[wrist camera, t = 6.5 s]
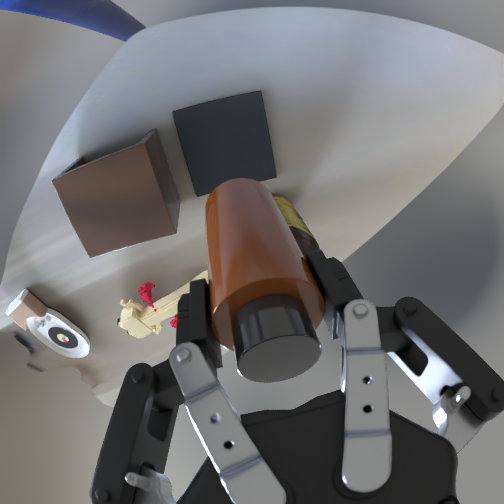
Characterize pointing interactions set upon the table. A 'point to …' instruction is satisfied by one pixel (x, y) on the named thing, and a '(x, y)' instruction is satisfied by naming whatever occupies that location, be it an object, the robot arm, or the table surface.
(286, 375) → the spice bottle
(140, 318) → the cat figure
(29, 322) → the record player
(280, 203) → the sauce bottle
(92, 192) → the brown open box
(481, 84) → the table surface
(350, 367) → the robot arm
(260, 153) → the mat
